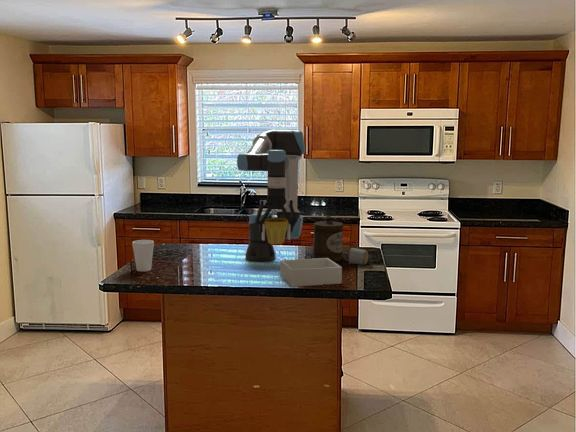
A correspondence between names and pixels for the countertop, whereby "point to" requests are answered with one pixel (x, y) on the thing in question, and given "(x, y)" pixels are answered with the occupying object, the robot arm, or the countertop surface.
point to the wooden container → (328, 239)
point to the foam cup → (143, 254)
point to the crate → (310, 272)
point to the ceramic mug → (358, 256)
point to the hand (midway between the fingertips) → (275, 239)
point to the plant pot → (276, 230)
